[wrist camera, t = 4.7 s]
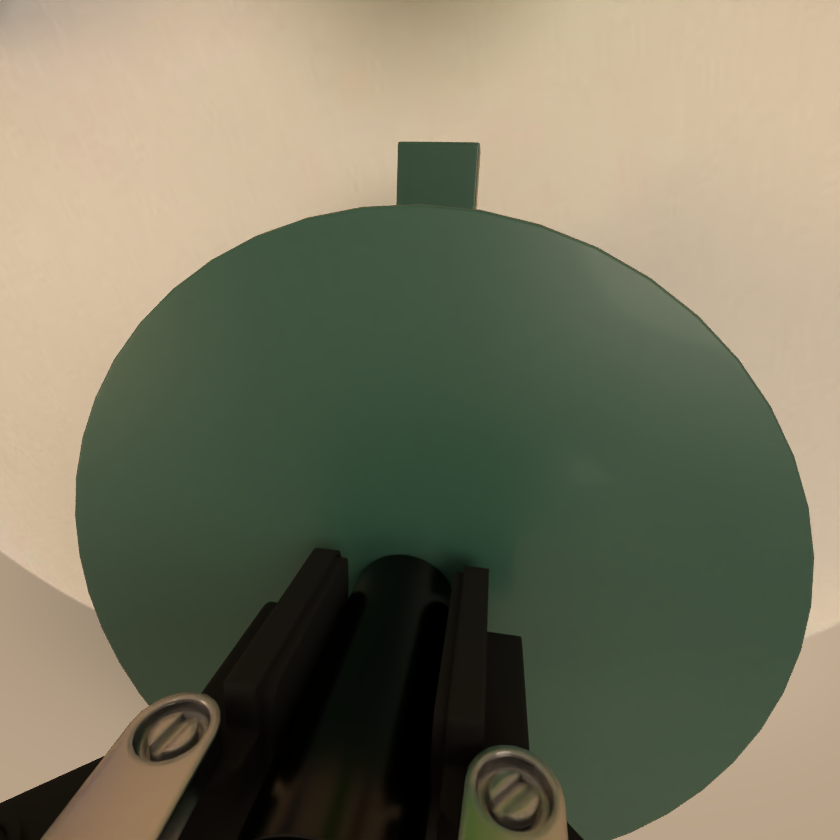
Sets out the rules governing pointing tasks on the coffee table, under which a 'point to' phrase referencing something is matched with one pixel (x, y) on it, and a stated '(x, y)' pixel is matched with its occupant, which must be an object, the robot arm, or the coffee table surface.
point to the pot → (438, 174)
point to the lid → (451, 508)
